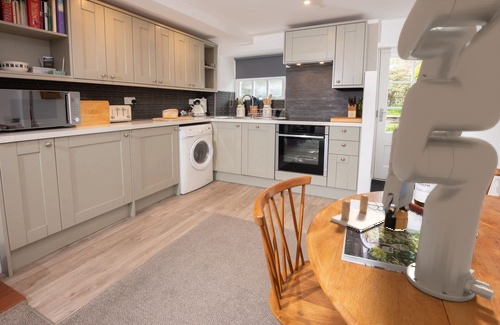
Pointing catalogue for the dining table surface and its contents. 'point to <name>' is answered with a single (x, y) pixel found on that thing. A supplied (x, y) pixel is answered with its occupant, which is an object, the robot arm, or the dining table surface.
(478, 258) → the dining table surface
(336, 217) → the plate
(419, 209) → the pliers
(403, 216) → the wooden faceted cylinder
